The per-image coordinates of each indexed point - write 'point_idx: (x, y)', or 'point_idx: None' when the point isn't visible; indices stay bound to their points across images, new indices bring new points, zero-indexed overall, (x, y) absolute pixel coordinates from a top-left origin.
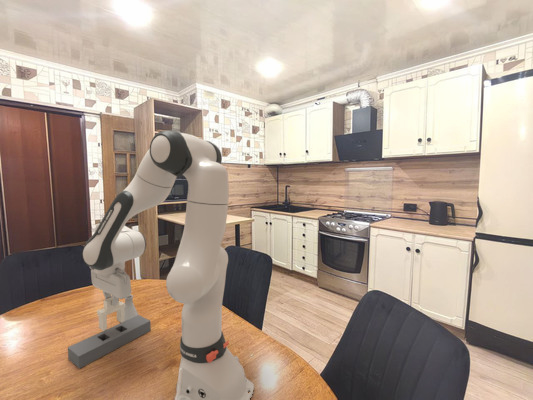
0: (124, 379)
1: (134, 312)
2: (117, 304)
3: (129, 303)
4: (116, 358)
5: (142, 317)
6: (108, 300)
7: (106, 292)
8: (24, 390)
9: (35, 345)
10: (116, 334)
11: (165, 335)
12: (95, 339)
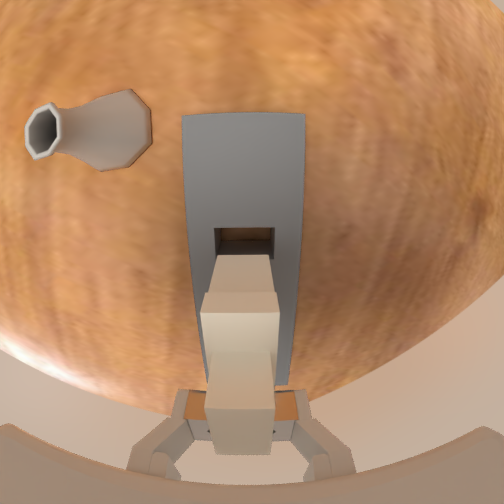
0: (420, 309)
1: (123, 112)
2: (305, 391)
3: (80, 133)
4: (338, 289)
5: (229, 116)
6: (257, 448)
7: (177, 472)
8: None
9: (87, 363)
10: (273, 278)
11: (379, 113)
12: None
